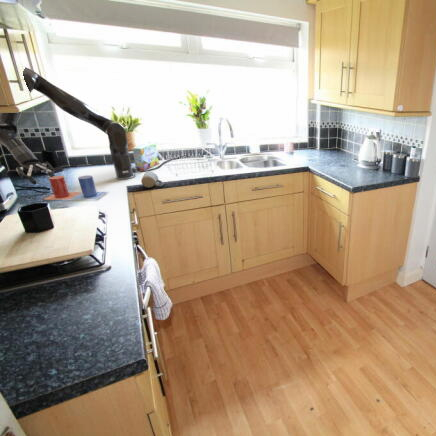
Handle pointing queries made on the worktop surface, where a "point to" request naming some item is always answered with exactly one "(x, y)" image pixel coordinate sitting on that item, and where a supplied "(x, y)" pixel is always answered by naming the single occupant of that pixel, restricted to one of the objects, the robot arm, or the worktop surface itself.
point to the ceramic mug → (150, 180)
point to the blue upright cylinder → (87, 186)
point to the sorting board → (74, 196)
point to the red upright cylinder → (59, 186)
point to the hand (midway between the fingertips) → (45, 181)
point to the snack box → (145, 156)
